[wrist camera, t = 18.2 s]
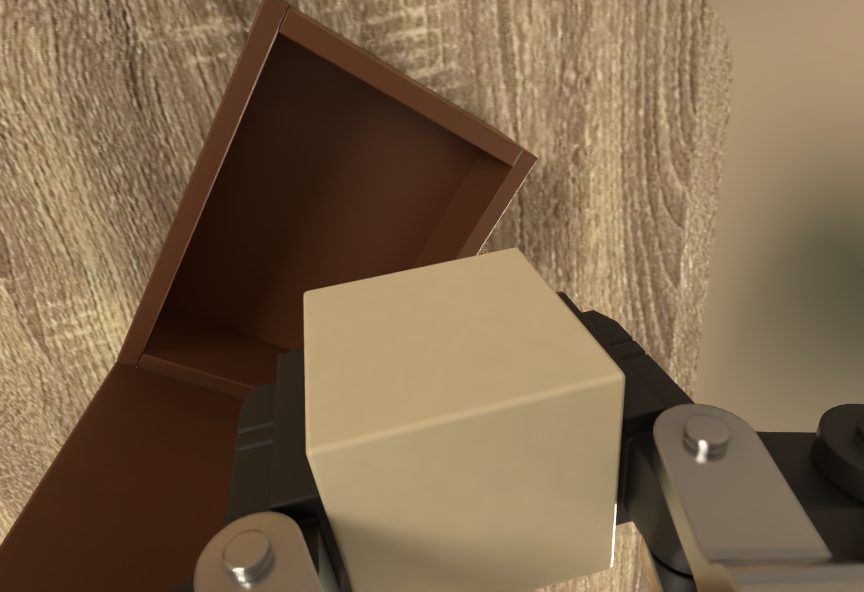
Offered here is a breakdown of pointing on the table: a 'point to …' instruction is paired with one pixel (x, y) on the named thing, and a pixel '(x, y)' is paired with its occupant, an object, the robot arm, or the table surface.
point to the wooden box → (311, 200)
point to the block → (461, 429)
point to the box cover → (128, 490)
